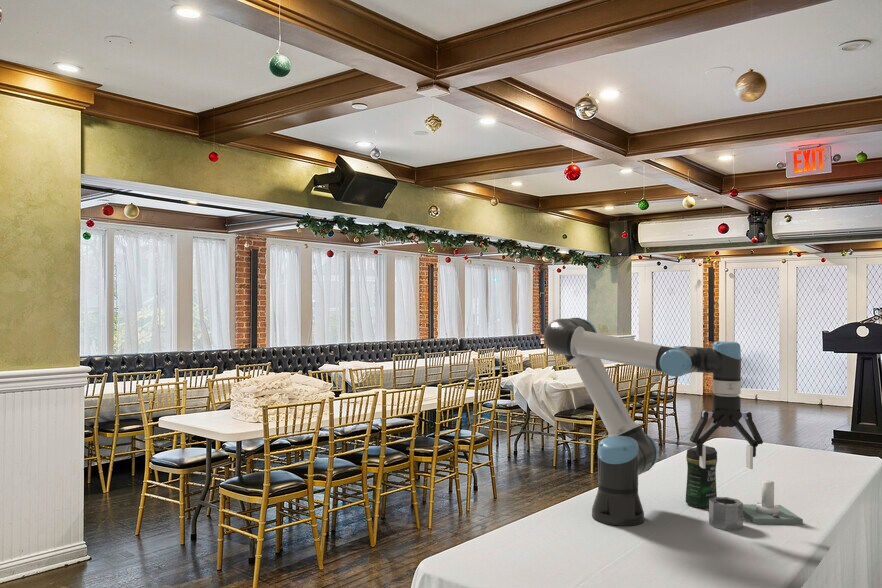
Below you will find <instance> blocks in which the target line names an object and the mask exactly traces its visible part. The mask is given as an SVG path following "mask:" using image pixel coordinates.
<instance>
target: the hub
mask: <svg viewBox="0 0 882 588" xmlns="http://www.w3.org/2000/svg"><path fill="white" fill-rule="evenodd" d="M743 504H744V502H742V501H740V500H739V499H737V498H731V497H727V496H717V497H713V498H711V499H709V507H708V524H709V525H710V526H711V527H713V528H715V529H719V530H723V531H739V530H741V529H743V527H744V524H743V523H744V515H743Z"/></svg>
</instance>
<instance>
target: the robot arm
mask: <svg viewBox="0 0 882 588" xmlns="http://www.w3.org/2000/svg"><path fill="white" fill-rule="evenodd" d="M543 341H544V344H545V345H546V348H548V350H549V351H551V352H552V353H554V354H556V355H563V356H564V358H565V360H566V362H567V363H568V365H571V366H574V367H575V369H576V371H577V373H578V376H579V378H580V380H581V381H582V383H583V386H584V388H585V389H586V391H587V394H588V395H589V397H590V400H591V401H592V403H593V405H594V407H595V408H596V410H597V413H598V415H599V417H600V419H601V421H602V423H603V424H604V427H605V428H606V431H607V432H608V434H607V436H606V437H604V438H602V439H601V440H599V443H598V446H597V447H598V448H597V483H598V484H597V493H596V495H595V498H594V501H593V504H592V507H591V517H592V519H594V520H595V521H597V522H600V523H603V524H607V525H613V526H620V527H621V526H624V527H625V526H636V525H640V524H642V523H644V521H645V511H644V509H643V504H642V501H641V499H640V496H639V476H640V475H642V474H644V473H646V472H648V471H650V470H651V469H652V467H654V466H655V464H656V462H657V461H658V458H659V450H658V448H659V447H658V445H657V443H656V441H655V440H654V439H653V438H652V437H651V436H650V435H648V434H646V433H645V431H644V429H643V427H642V425H641V424H639V423H636V422H634V420H633V419H632V416H631V415H630V413H629V411H628V409H627V407H626V405H625V404H624V402H623V399H622V397H621V396H620V394H619V392H618V390H617V388H616V386H615V384H614V382H613V380H612V379H611V376H610V374H609V373H608V370H607V369H606V367H605V365H604V363H603V361H602V360H605V361H610V362H613V363H618V364H624V365H628V366H633V367H638V368H643V369H647V370H652V371H656V372H660V373H664V374H665V375H667V376H669V377H675V378H676V377H682V376H685V375H687V374H692V373H700V374H701V373H702V374H703V373H705V374H712V393H713V395H712V410H711V411H706V410H704V409H702V410H701V411H700V413H701V414H700V419H699V420H698V422H697V423H696V426H695V428H694V430H693V432H692V434H691V436H690V438H689V440H690V442H691V443H693V444H695V445H696V446H695V447H696V454H697V455H698V456H700V460H699V466H700V467H701V468H705V461H706V446H707V445H705V444H704V443H706V441H708V439H710V437H711V436H712V434H713V433H715V431H716V430H717V429H719V428H726V427H728V428H734V427H735V428H736V430H737V431H738V432H739V433H740V434H741V436H742V437H743V438H744V439H745V440H746V442H747V443H748V444H746V445H745V446H746V447H745V448H746V450H745V452H746V453H745V456H746V457H745V459H746V460H745V461H746V462H745V467H746V469H747V468H748V469H749V470H753V469H754V458H756V456H757V447H758V446H759V445H762V444H763V443H764V441H763V439H762V436H761V435H760V432H759V431H758V429H757V427H756V424H755V422H754V420H753V414H752V412H751V411H748V410H745V411H743V412H742V411H741V403H742V402H741V401H742V399H741V396H740V395H741V391H742V389H741V388H742V387H741V385H742V382H741V379H742V376H741V374H742V373H741V372H742V371H741V370H742V353H741V345H740V343H738V342H736V341H723V340H722V341H714V342H713V344H712V346H711V347H701V346H687V345H682V346H681V345H680V346H673V347H671V346H665V345H660V344H655V343H650V342H645V341H640V340H635V339H628V338H624V337H620V336H619V337H618V336H613V335H609V334H604V333H598V332H597V329H596V327H595V325H594V324H592V322H590V321H589V320H588V319H584V318H580V317H571V318H558V319H555V320H553V321H551V322H550V323H549V324H547V326H546V327H545V329H544V333H543ZM710 418H712V420H711V422H710V423H709V425H708V426H707V427H706V425H707V422H709V421H708V420H709V419H710ZM742 418H743V420H744V421H745V423H746V425H747V427H748V429H749V432H750V433H751V435H752V436H751V435H750V434H749V432H748V431H747V430H746V429H745V427H744V426H743V424H742V423H741V422H740V420H741V419H742ZM705 427H706V429H705V430H704V428H705Z"/></svg>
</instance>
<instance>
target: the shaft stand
mask: <svg viewBox="0 0 882 588" xmlns="http://www.w3.org/2000/svg"><path fill="white" fill-rule="evenodd" d="M743 517H745V518H746V519H748V520H749V521H750V522H751V523H753V524H754V525H755V524H756V525H757V524H759V525H763V524H764V525H803V524H804V519H803V518H802V517H800V516H799V515H797V514H796V513H794V512H792V511H790V510H789V509H787V508H786V507H784V506H783V505H781V504H775V482H774V481H773V480H768V479H765V480H761V502H757V503H756V504H754V503H753V504H749V503H748V504H747V503H746V504H744V503H743Z"/></svg>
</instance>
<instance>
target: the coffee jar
mask: <svg viewBox="0 0 882 588" xmlns="http://www.w3.org/2000/svg"><path fill="white" fill-rule="evenodd" d="M705 446H706V461H705V468H701V467H700V466H699V460H700V456H698V455H697V454H696V446H694V447H690V448H689V449H687V450H686V459H685V460H686V465H687V466H686V467H687V469H686V470H687V475H686V490H685V503H686V504H687V505H689V506H691V507H693V508H697V507H698V508H702V509H705V508H706V509H707V508H709V499H711V498H713V497H718V495H717V494H718V493H717V474H716V473H717V463H718V450H717V449H716V448H715V447H713V446H707V445H705Z"/></svg>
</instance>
